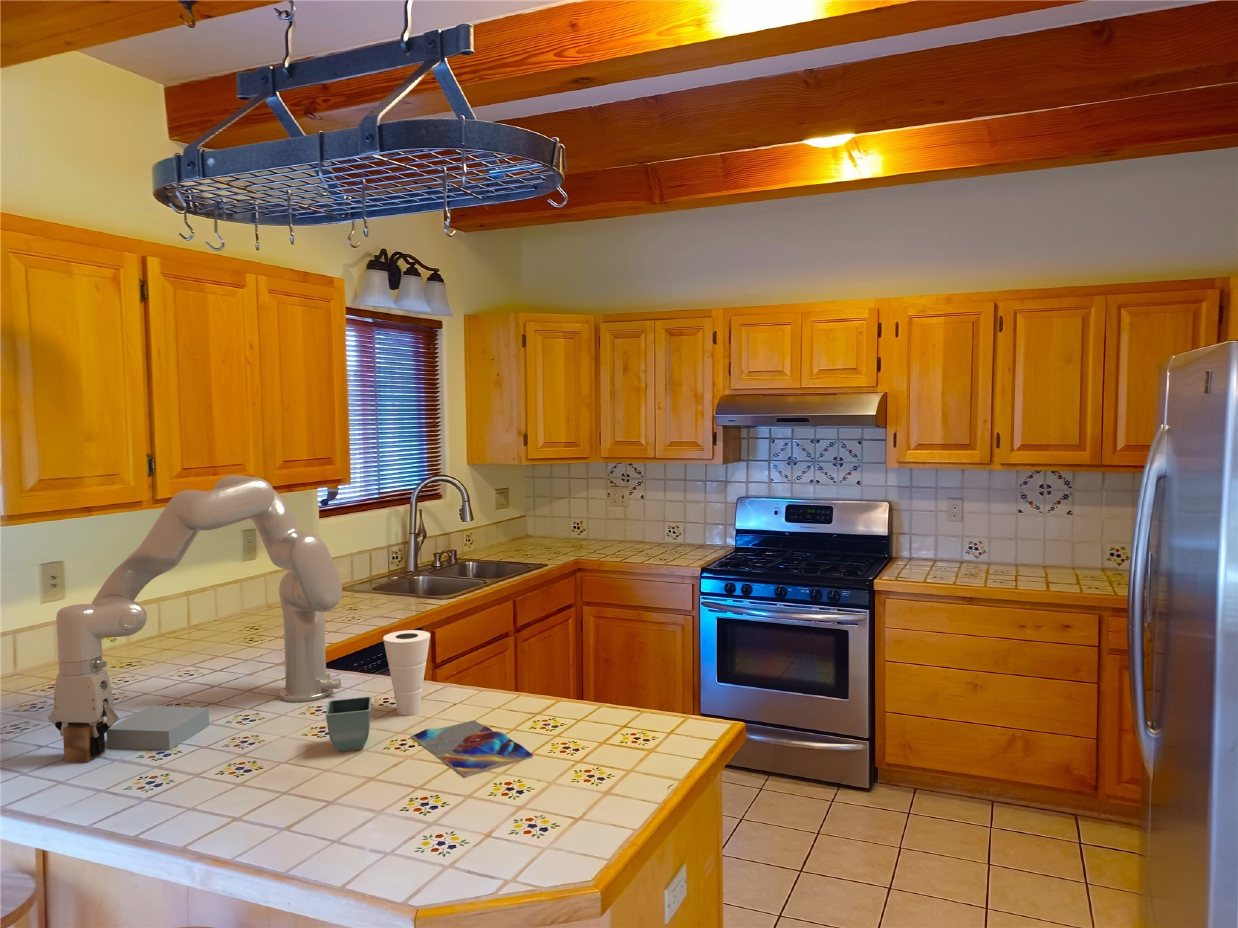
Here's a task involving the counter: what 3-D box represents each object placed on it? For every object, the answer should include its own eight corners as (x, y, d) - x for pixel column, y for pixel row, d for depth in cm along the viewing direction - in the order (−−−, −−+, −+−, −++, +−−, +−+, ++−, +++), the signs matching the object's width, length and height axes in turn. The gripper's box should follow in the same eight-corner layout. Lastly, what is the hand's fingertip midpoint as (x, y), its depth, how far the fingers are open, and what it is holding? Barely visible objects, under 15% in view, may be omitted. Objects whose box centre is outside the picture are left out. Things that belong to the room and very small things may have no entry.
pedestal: (209, 725, 188) (208, 707, 188) (169, 749, 174) (168, 731, 174) (150, 723, 189) (150, 705, 189) (107, 747, 175) (106, 729, 175)
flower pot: (326, 757, 170) (325, 714, 169) (329, 741, 178) (328, 699, 178) (371, 752, 172) (370, 709, 172) (372, 736, 181) (371, 695, 180)
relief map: (410, 740, 180) (410, 731, 180) (474, 723, 189) (474, 715, 189) (465, 780, 160) (464, 770, 160) (533, 760, 169) (533, 750, 169)
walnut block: (105, 752, 173) (103, 719, 172) (87, 762, 168) (85, 728, 167) (82, 752, 173) (81, 718, 173) (64, 761, 168) (62, 728, 168)
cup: (441, 709, 197) (439, 634, 196) (406, 723, 188) (404, 644, 187) (410, 700, 203) (408, 627, 202) (375, 714, 194) (373, 637, 193)
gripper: (132, 661, 172) (136, 747, 173) (56, 659, 174) (60, 744, 175) (106, 672, 165) (110, 762, 166) (27, 670, 167) (31, 759, 168)
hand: (84, 752), depth 170 cm, fingers closed on walnut block, 5 cm apart
